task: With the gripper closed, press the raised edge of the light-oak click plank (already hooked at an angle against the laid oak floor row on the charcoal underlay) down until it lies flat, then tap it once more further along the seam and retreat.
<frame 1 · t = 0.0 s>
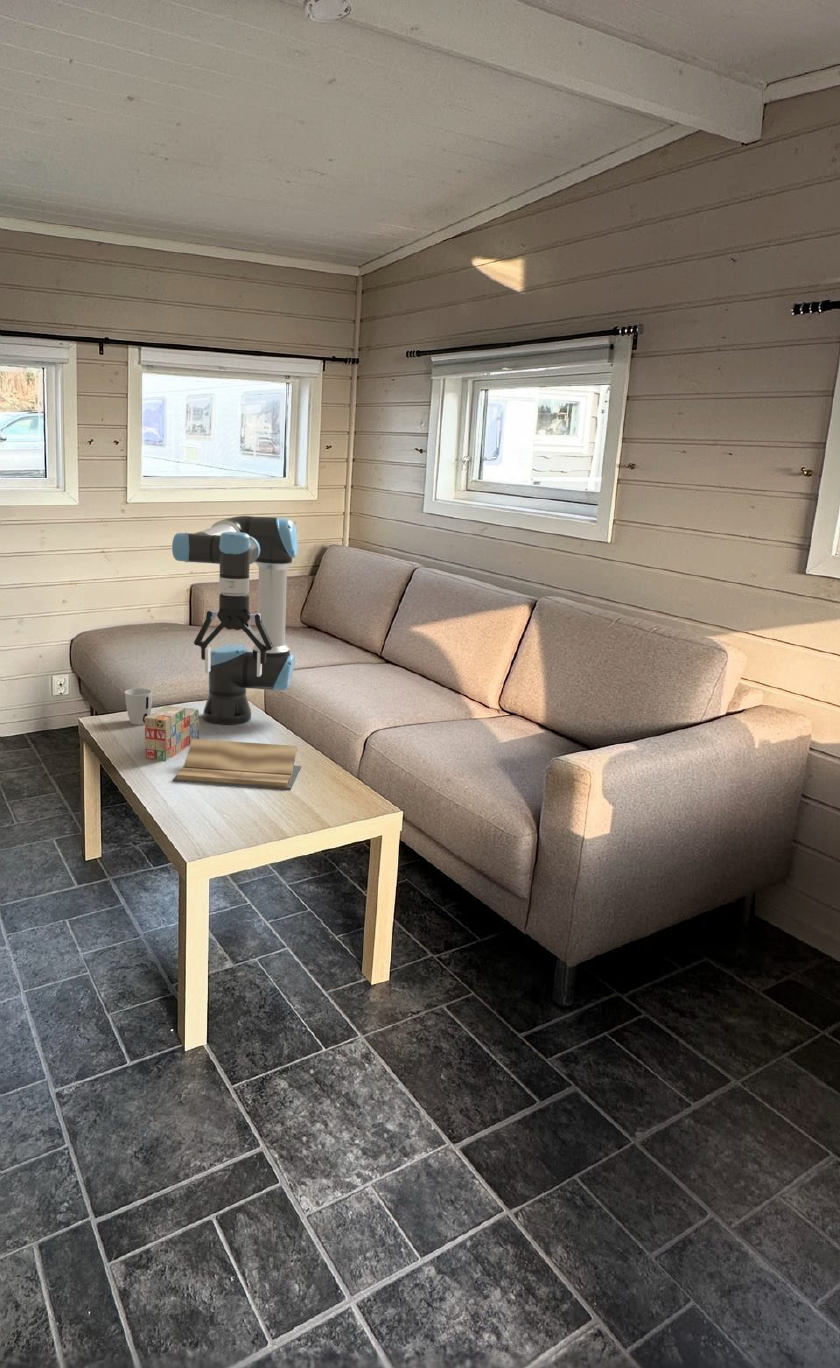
hand: (233, 673, 238), 28 cm above the table, fingers open, 13 cm apart
click plank: (241, 757, 247), point 4 cm above the table, hinge at 30.0°
laid plank: (234, 781, 240), resting on underlay
cup: (139, 723, 283), on the table
stack of blocks: (173, 749, 263), on the table
underlay: (238, 774, 246), on the table
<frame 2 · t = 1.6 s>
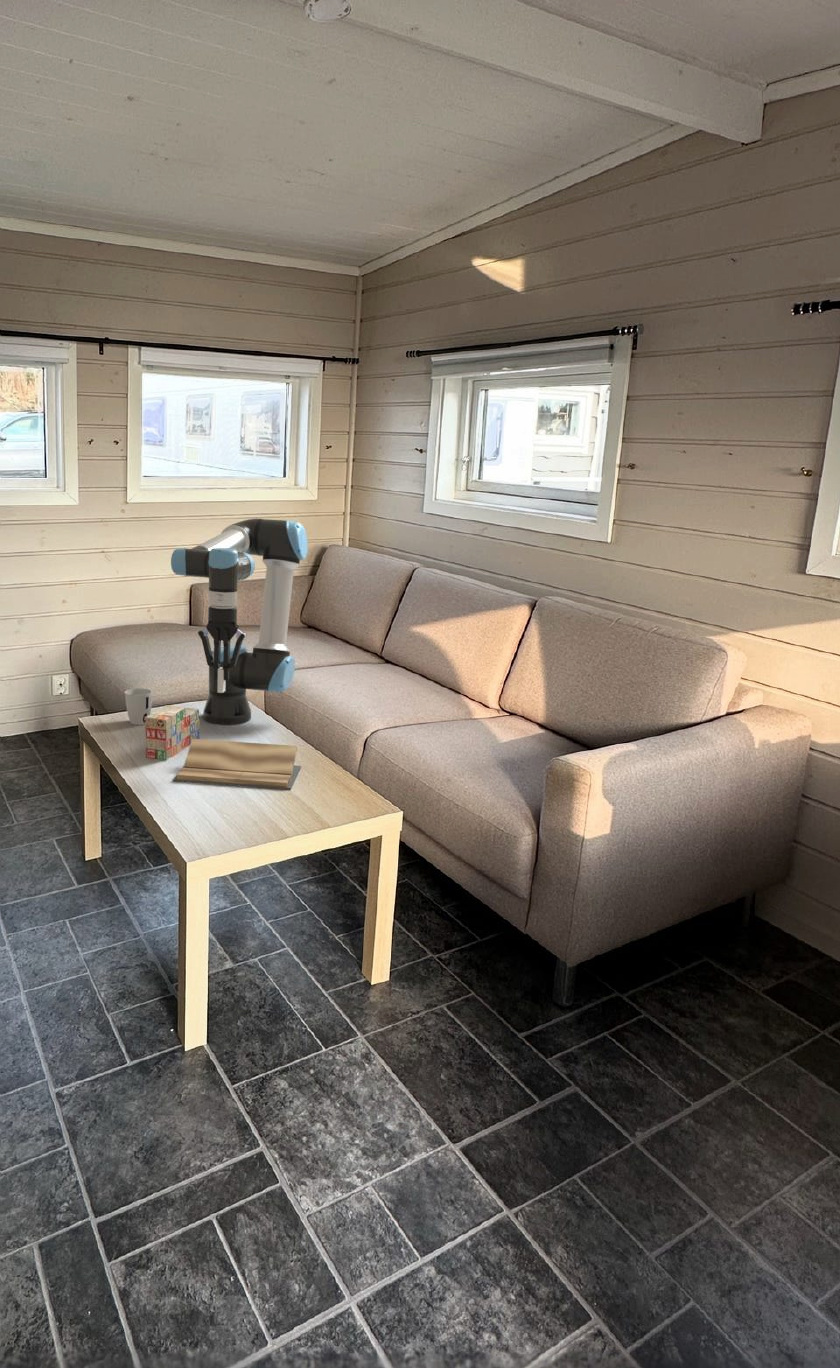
hand: (221, 691, 249), 20 cm above the table, fingers closed
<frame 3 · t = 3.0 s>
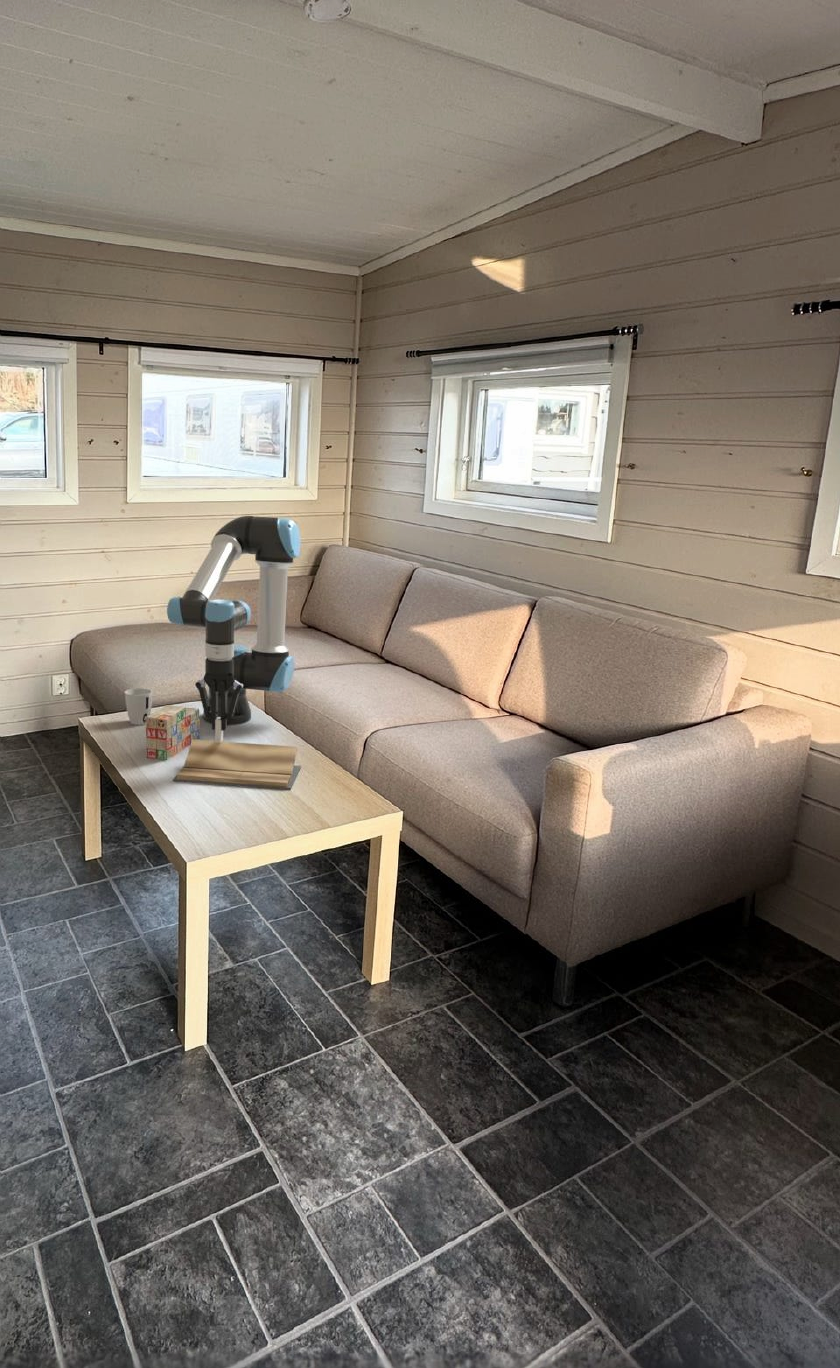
hand: (219, 741, 250), 7 cm above the table, fingers closed
click plank: (241, 758, 247), point 4 cm above the table, hinge at 28.2°, touching gripper
everything else where it was.
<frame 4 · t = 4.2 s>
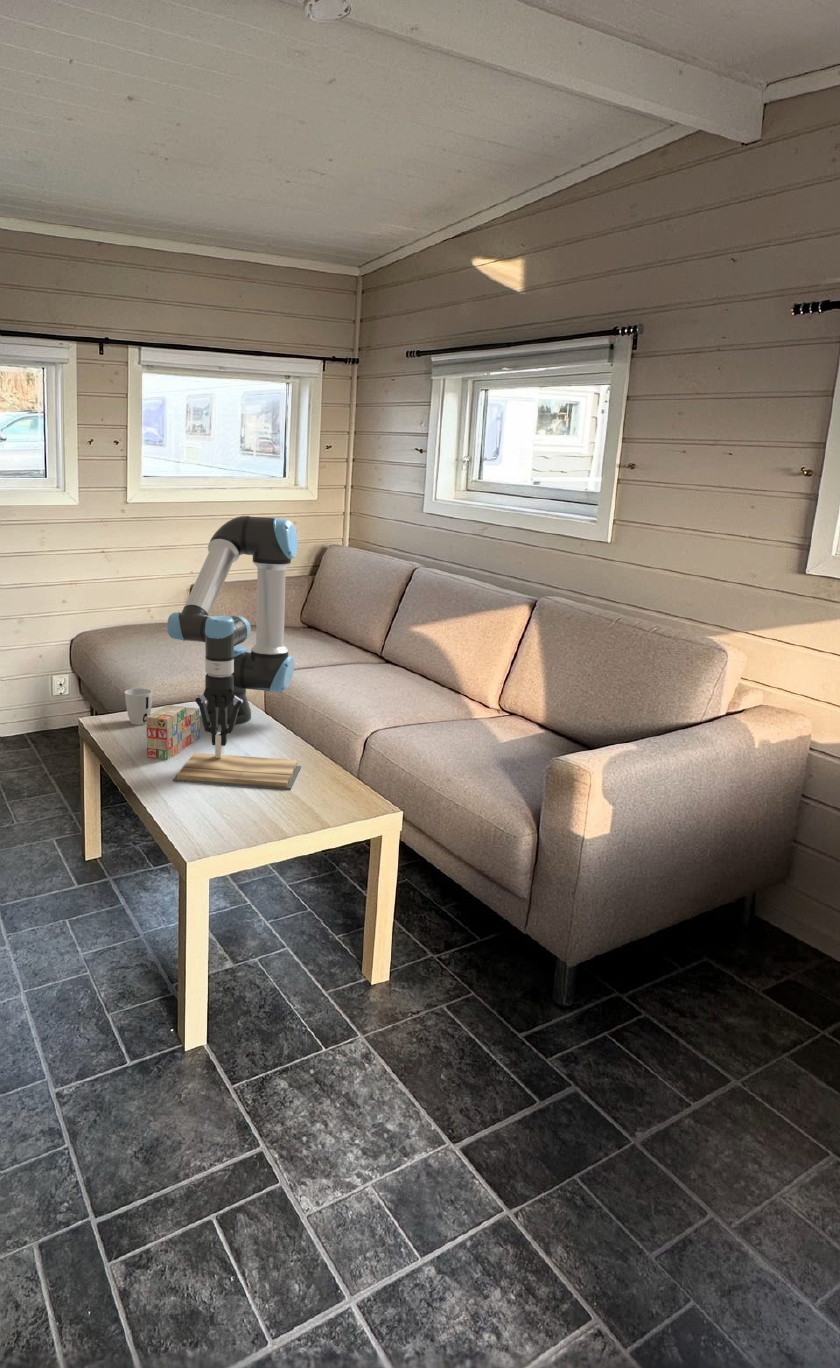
hand: (219, 756, 251), 2 cm above the table, fingers closed
click plank: (241, 765, 248), point 1 cm above the table, hinge at 3.0°, touching gripper
everything else where it was.
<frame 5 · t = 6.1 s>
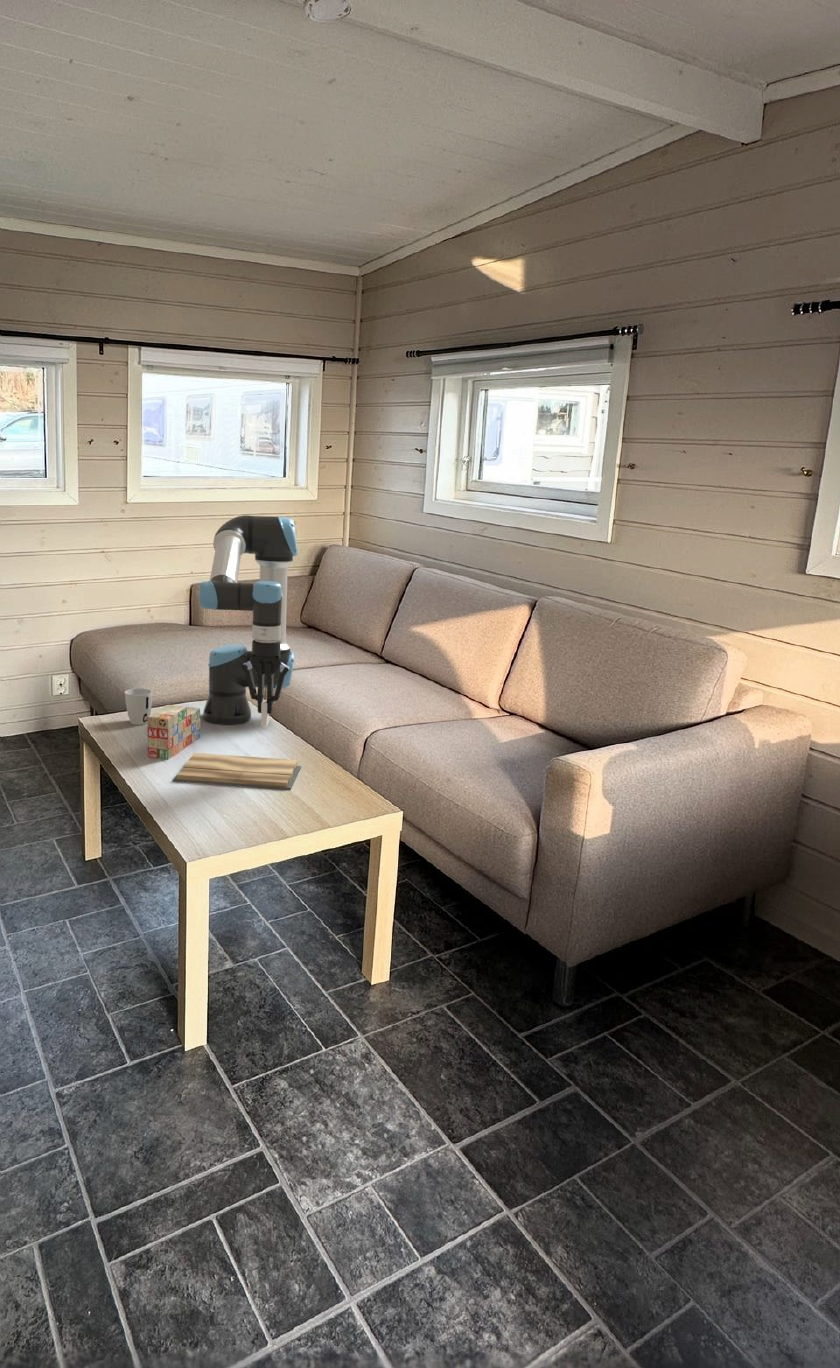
hand: (264, 724, 248), 13 cm above the table, fingers closed
click plank: (241, 765, 248), point 1 cm above the table, hinge at 3.0°
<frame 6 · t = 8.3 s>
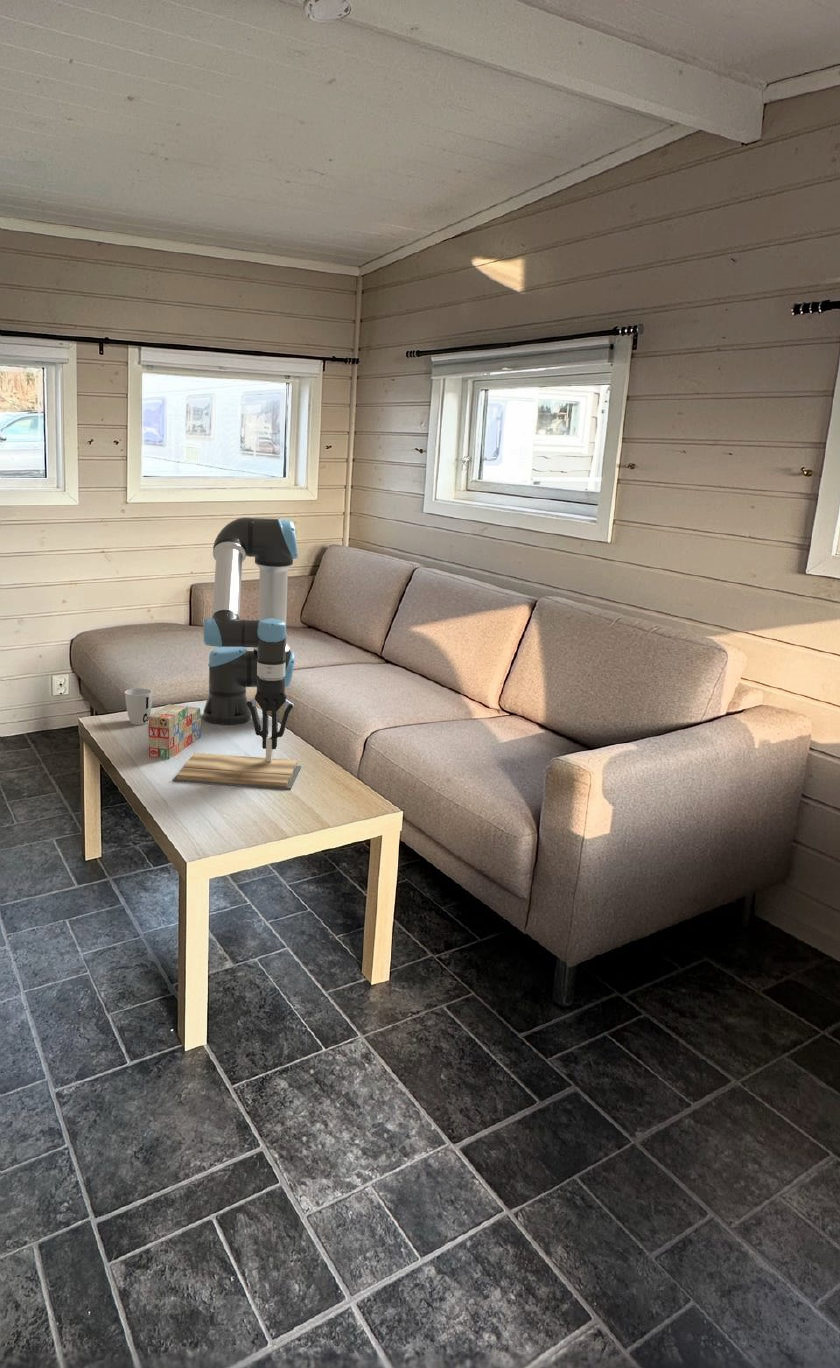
hand: (269, 759, 251), 2 cm above the table, fingers closed
click plank: (241, 765, 248), point 1 cm above the table, hinge at 3.0°, touching gripper
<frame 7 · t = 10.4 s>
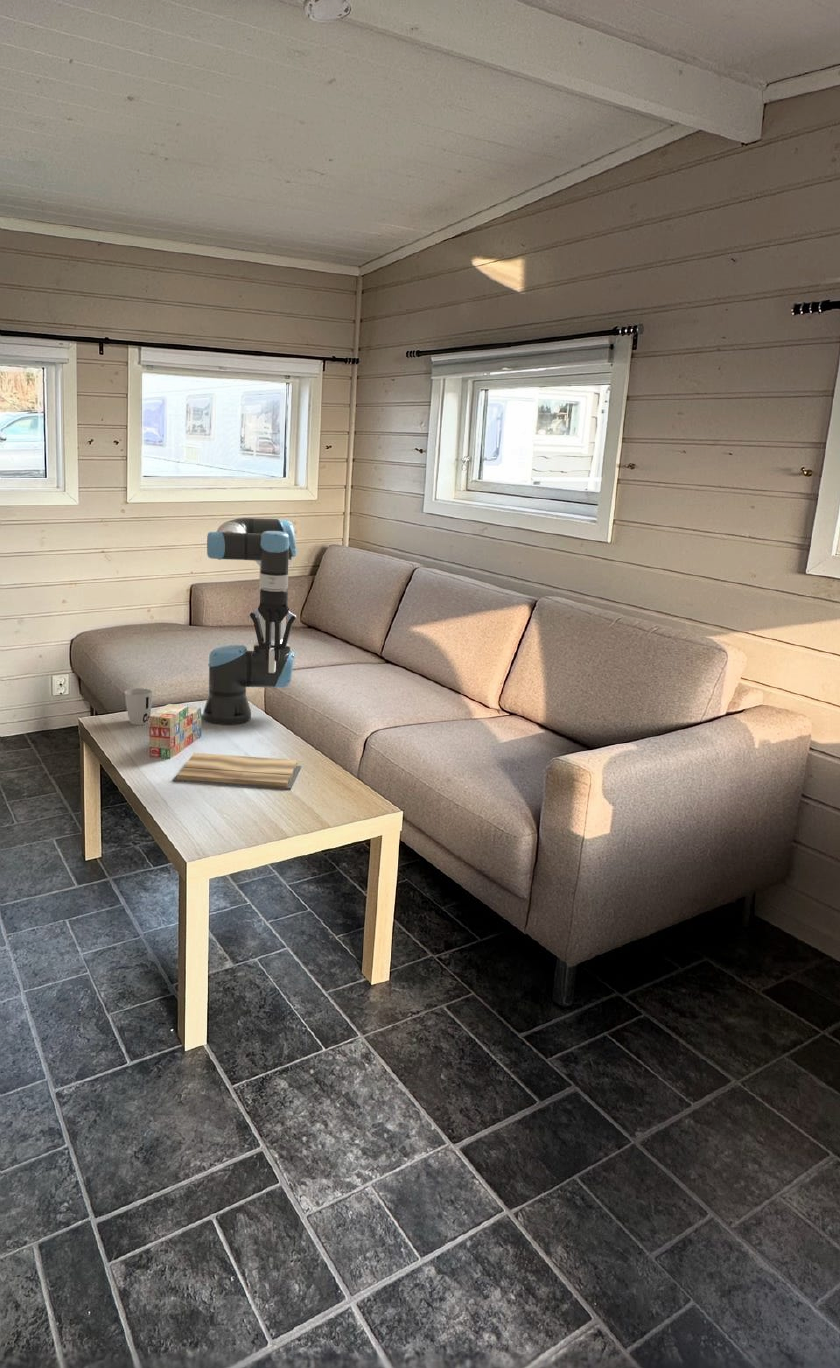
hand: (272, 671, 255), 25 cm above the table, fingers closed
click plank: (241, 765, 248), point 1 cm above the table, hinge at 3.0°
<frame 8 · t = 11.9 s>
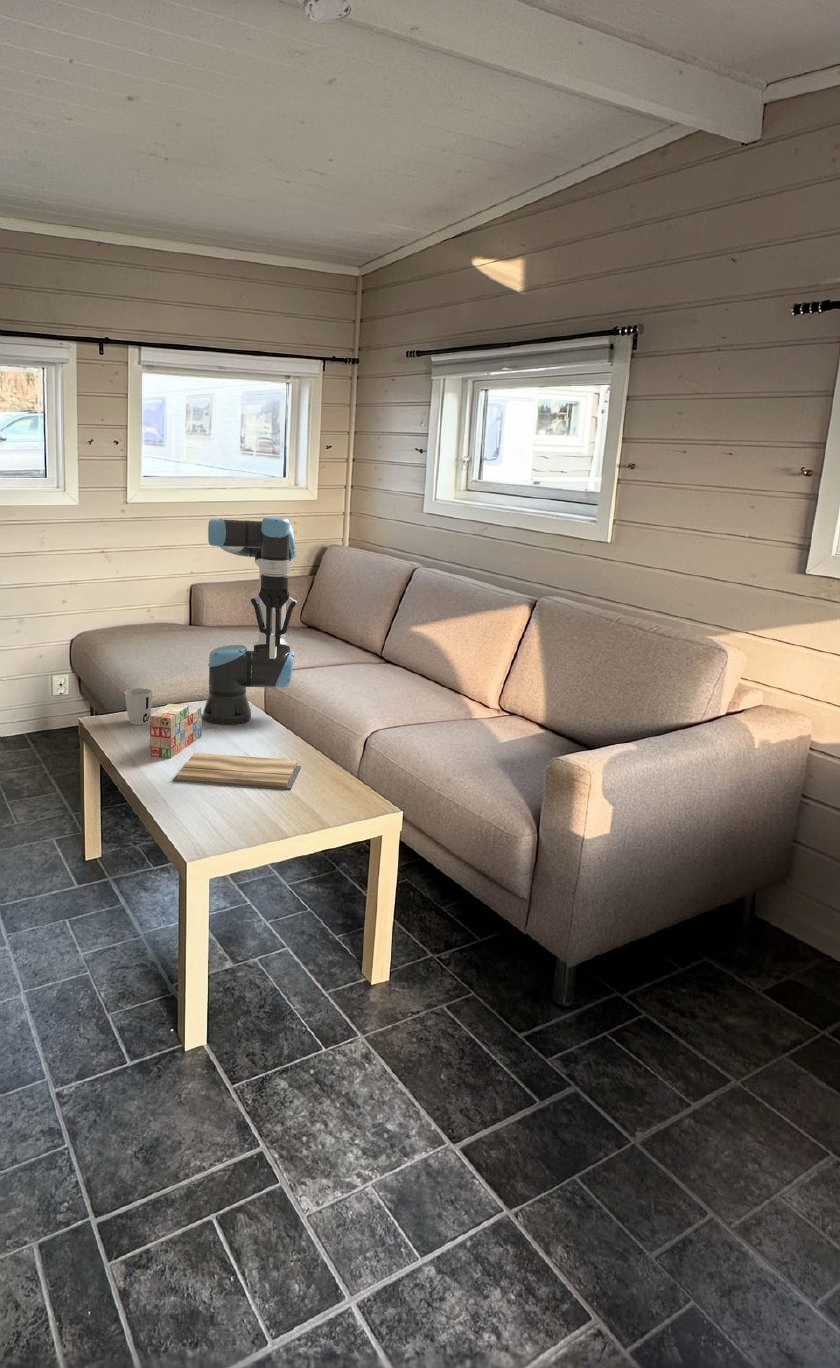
hand: (272, 657, 257), 28 cm above the table, fingers closed
at the end: click plank at +3° (first picture: +30°) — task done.
